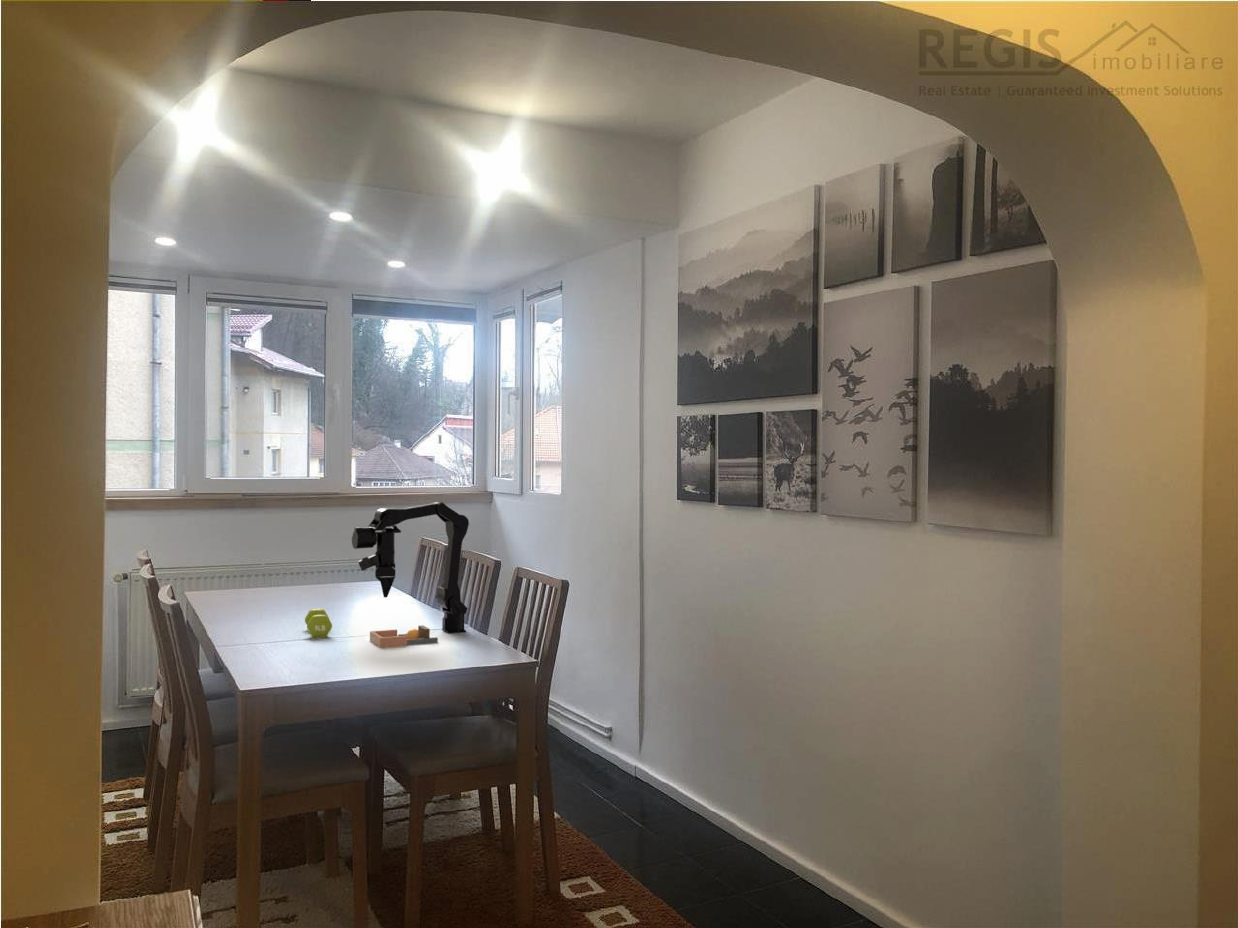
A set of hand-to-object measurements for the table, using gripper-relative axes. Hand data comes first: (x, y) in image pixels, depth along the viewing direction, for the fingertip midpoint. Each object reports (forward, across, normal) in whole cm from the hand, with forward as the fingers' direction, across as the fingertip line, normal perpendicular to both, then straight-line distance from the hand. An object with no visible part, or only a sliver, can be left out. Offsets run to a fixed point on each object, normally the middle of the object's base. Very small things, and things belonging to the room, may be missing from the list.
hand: (385, 595), depth 306 cm
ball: (+12, +7, +9) cm, 16 cm away
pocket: (+14, +9, +1) cm, 17 cm away
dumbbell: (+14, -10, -22) cm, 28 cm away
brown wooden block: (+14, +6, +12) cm, 19 cm away
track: (+14, +7, +10) cm, 18 cm away
